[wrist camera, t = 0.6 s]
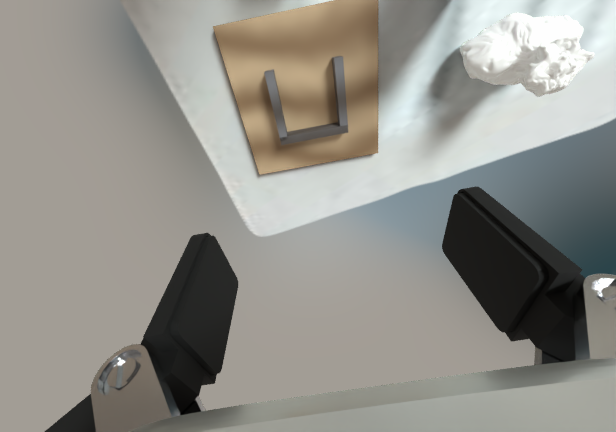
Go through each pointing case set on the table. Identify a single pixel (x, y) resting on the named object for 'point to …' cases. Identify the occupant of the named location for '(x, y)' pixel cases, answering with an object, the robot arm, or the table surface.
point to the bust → (527, 53)
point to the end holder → (306, 82)
